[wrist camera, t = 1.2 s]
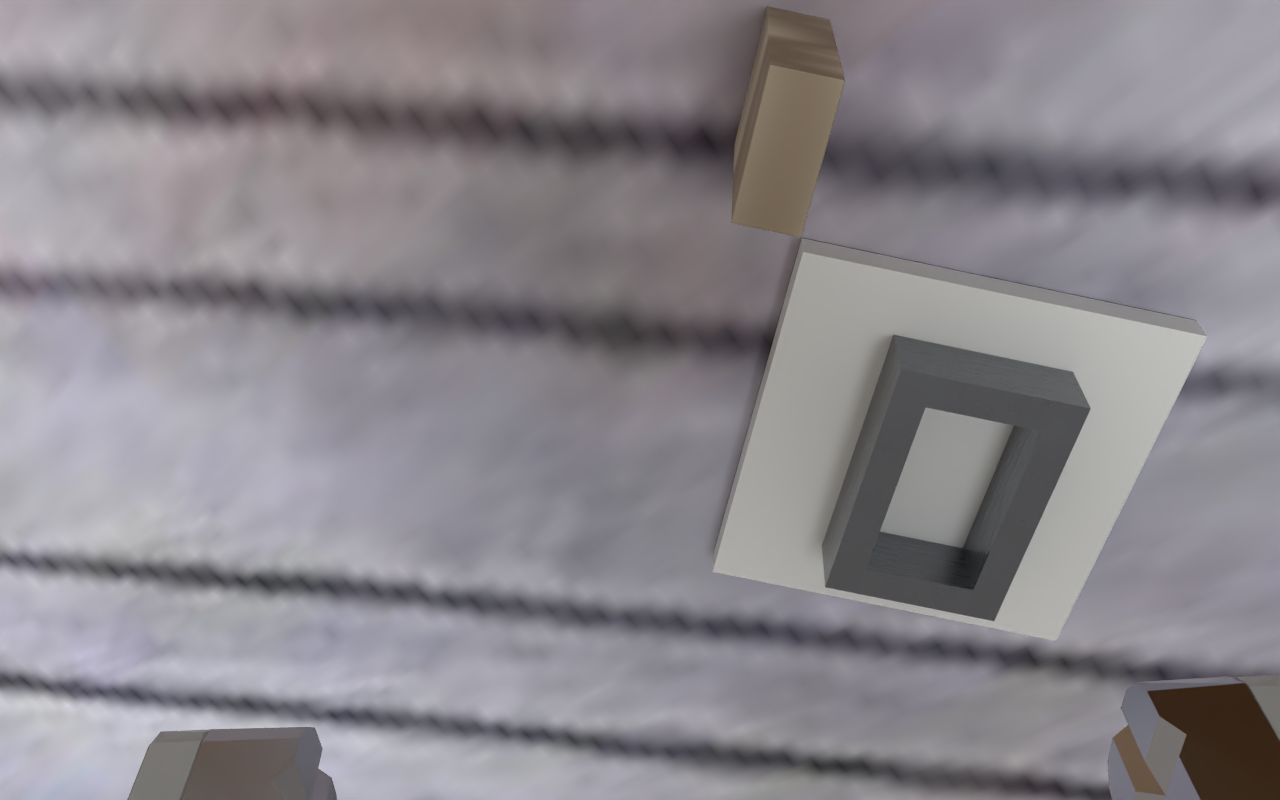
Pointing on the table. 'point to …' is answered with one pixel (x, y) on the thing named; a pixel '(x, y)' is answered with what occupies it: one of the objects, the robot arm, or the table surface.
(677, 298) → the table surface
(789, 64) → the wooden block
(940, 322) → the plate
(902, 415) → the frame
